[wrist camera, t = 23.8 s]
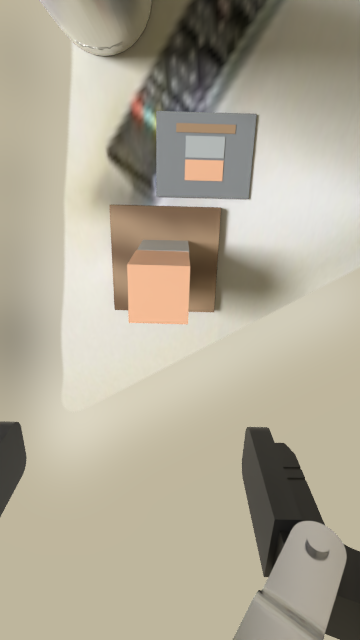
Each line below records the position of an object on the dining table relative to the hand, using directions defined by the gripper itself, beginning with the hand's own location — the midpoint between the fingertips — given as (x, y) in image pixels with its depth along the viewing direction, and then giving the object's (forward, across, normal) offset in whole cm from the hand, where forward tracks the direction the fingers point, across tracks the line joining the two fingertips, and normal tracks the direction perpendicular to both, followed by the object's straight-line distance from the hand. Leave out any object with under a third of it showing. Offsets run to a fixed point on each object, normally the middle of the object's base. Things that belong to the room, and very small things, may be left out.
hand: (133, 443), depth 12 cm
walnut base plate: (+30, 0, 0) cm, 30 cm away
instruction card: (+30, -4, -11) cm, 32 cm away
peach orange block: (+23, 0, 0) cm, 23 cm away
